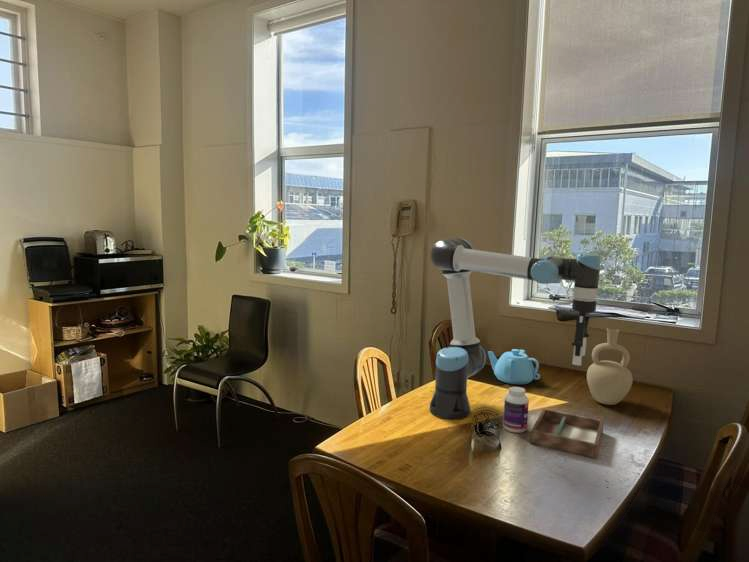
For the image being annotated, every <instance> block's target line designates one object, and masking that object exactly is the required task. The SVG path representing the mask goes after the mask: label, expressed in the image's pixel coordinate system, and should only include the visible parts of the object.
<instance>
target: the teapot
mask: <svg viewBox="0 0 749 562" xmlns="http://www.w3.org/2000/svg"><path fill="white" fill-rule="evenodd" d="M487 354H488V358H489V362H490V365H491V368H492V371H493V373H494V375H495V377H496V378H497V379H498V381H500V382H502V383H506V384H508V385H509V384H511V385H527V384H530V383H531V382H532V381H533V380H535V381H537V380H540V378H541V375H540V374H539V373H538V371H539V368H540V367H539V366H540V362H539V361H538V360H537V359H536V358H534V357H529V356H528V355H527V354H526V350H525V349H521V348H520V349H516V348H513V349H511V351H505V352H504V353H502V354H501V356H500V357H499V358H498V359H497V357H496V355H495V354H494V352H493V351H491V350H490V351H487ZM532 361H533V362H534V363H535V368H534V365H533V362H532Z"/></svg>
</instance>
